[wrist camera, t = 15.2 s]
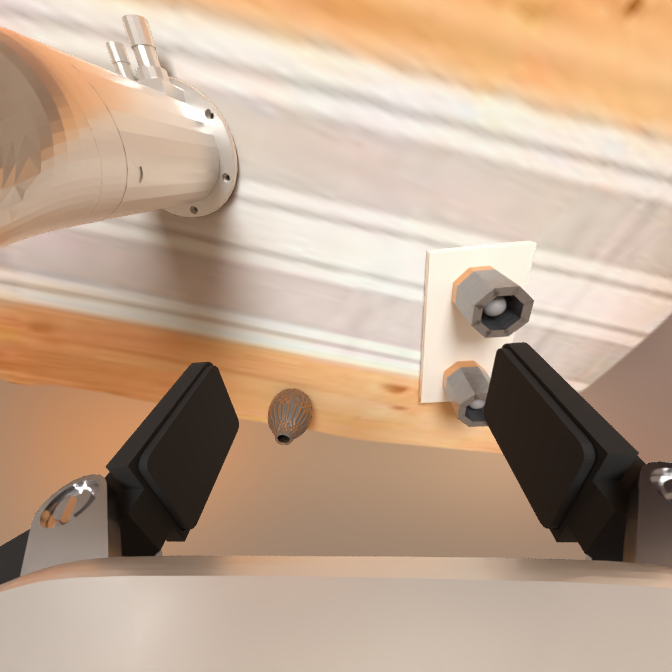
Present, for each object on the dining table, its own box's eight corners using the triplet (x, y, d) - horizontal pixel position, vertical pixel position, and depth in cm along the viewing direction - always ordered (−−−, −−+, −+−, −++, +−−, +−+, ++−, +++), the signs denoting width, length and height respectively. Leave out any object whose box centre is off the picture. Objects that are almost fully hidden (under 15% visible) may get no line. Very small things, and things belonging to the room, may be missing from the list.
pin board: (426, 250, 35) (444, 269, 28) (529, 240, 34) (573, 257, 27) (418, 396, 47) (430, 433, 40) (494, 393, 46) (518, 430, 39)
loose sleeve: (454, 268, 34) (476, 289, 28) (504, 264, 34) (538, 284, 28) (450, 311, 37) (469, 339, 31) (496, 308, 36) (524, 335, 30)
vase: (294, 375, 46) (283, 415, 38) (322, 400, 48) (317, 443, 41) (265, 394, 48) (249, 436, 41) (293, 417, 51) (283, 461, 43)
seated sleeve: (444, 362, 41) (460, 394, 35) (486, 359, 41) (509, 392, 35) (441, 392, 44) (455, 427, 38) (480, 390, 43) (500, 425, 37)
